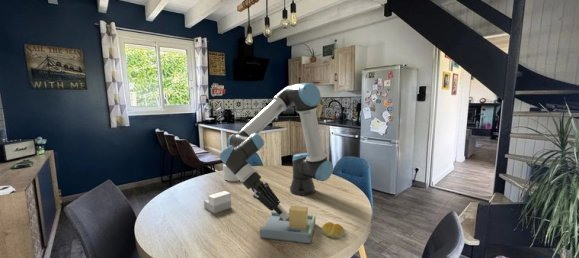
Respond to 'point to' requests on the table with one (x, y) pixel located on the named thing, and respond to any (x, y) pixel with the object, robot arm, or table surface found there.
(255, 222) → the table surface
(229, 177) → the roll of tape
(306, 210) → the ochre block
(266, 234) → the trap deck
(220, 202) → the foam block
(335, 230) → the bread roll
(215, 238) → the table surface
